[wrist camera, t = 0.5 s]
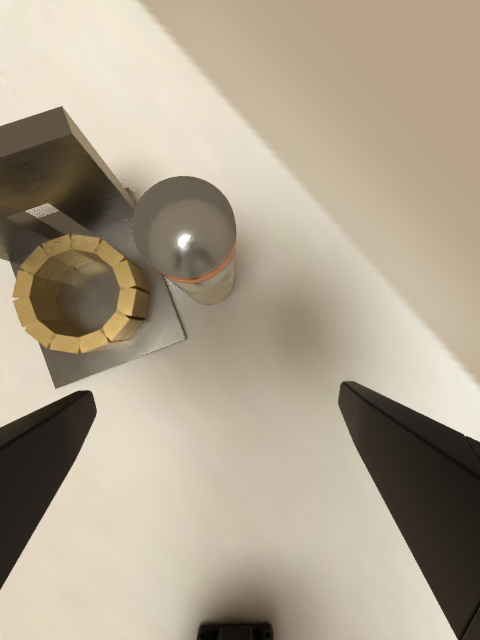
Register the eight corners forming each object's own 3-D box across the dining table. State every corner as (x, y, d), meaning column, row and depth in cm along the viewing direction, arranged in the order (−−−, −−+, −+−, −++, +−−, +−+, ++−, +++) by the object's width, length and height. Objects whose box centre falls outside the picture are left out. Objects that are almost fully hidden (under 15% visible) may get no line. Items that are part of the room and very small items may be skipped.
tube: (233, 305, 22) (235, 278, 11) (183, 304, 22) (129, 276, 10) (234, 256, 22) (237, 177, 11) (184, 254, 22) (133, 173, 11)
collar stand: (186, 338, 22) (151, 345, 12) (60, 387, 21) (-81, 434, 12) (131, 191, 22) (54, 85, 13) (5, 234, 22) (-174, 159, 12)
